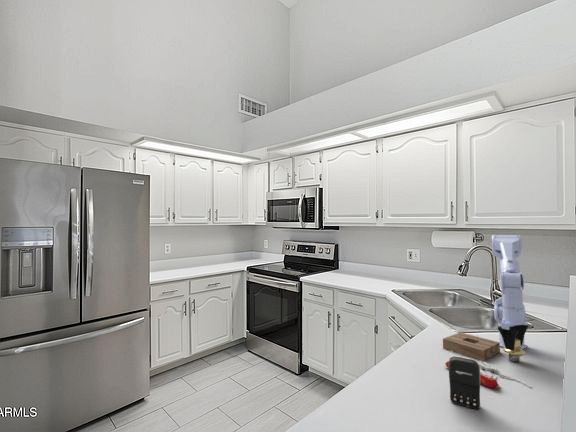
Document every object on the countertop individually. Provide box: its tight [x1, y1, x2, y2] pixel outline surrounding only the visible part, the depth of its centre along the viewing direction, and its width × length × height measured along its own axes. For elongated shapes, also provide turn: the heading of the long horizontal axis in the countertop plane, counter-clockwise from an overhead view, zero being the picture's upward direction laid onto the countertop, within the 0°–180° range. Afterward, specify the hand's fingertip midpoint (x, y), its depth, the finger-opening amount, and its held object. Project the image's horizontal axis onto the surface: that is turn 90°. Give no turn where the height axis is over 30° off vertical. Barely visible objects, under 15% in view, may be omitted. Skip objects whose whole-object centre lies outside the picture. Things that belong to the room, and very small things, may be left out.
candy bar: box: [444, 360, 501, 388], centre depth 91 cm, size 16×4×3 cm, turn 24°
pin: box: [502, 339, 526, 364], centre depth 103 cm, size 6×6×7 cm
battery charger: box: [448, 355, 481, 410], centre depth 76 cm, size 7×4×11 cm, turn 58°
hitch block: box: [442, 331, 501, 362], centre depth 113 cm, size 14×14×4 cm
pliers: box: [477, 361, 532, 389], centre depth 92 cm, size 10×2×15 cm
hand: (513, 347), depth 103 cm, fingers open, 7 cm apart
